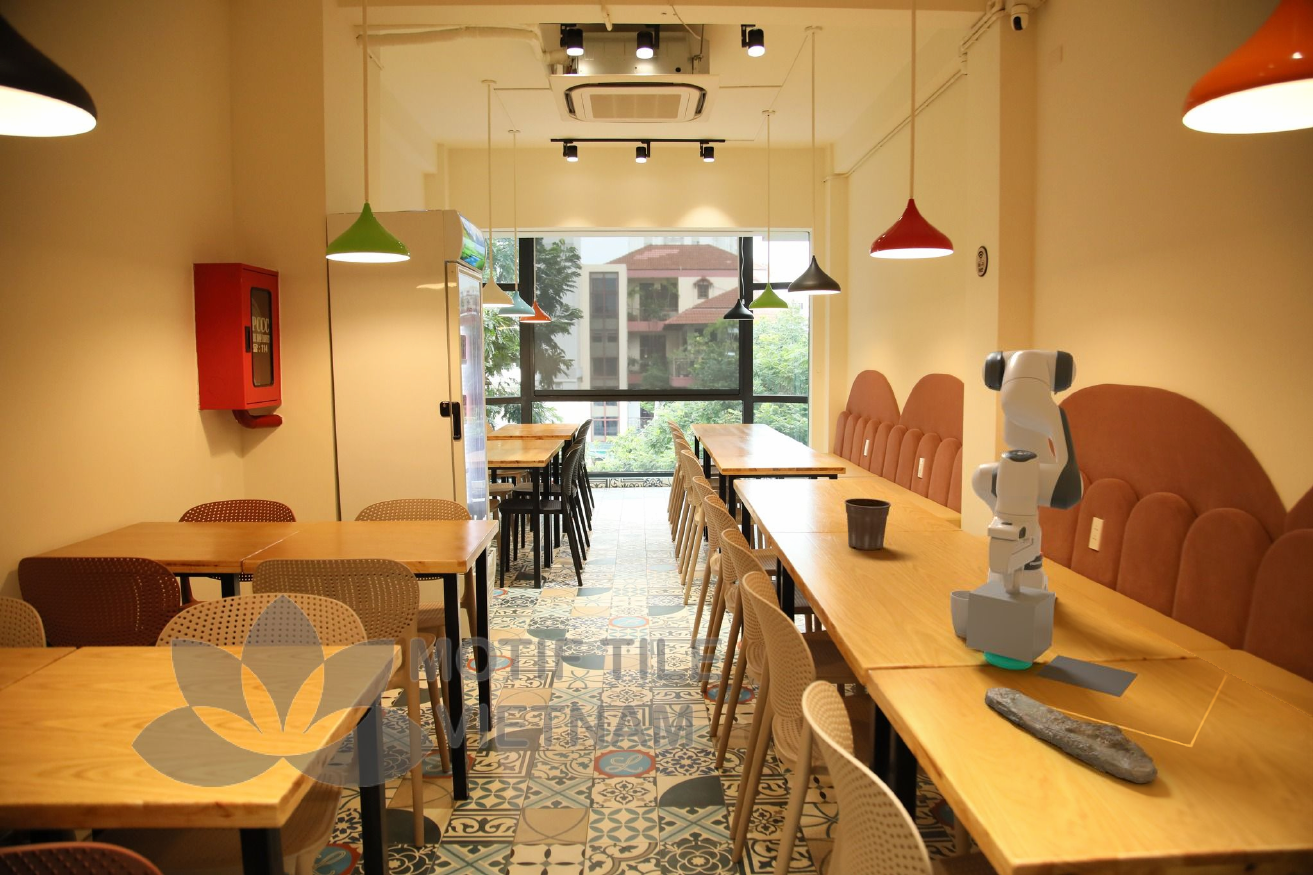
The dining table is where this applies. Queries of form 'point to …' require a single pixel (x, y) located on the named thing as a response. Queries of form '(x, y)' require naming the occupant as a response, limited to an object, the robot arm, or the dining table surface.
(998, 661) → the donuts
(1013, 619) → the cover
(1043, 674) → the mat
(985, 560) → the dining table surface
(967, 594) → the cup
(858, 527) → the plant pot
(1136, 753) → the elongated rock
